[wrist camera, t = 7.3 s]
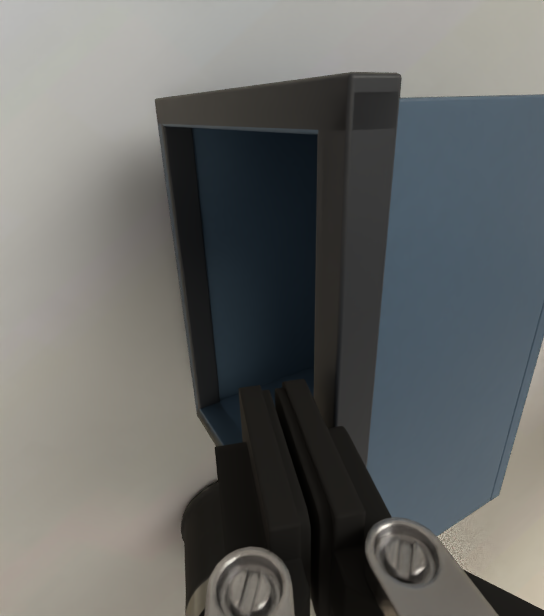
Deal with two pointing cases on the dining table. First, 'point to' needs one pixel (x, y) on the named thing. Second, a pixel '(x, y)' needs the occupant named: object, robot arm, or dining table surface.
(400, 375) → the blue storage bin
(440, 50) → the dining table surface
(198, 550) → the milk frother
